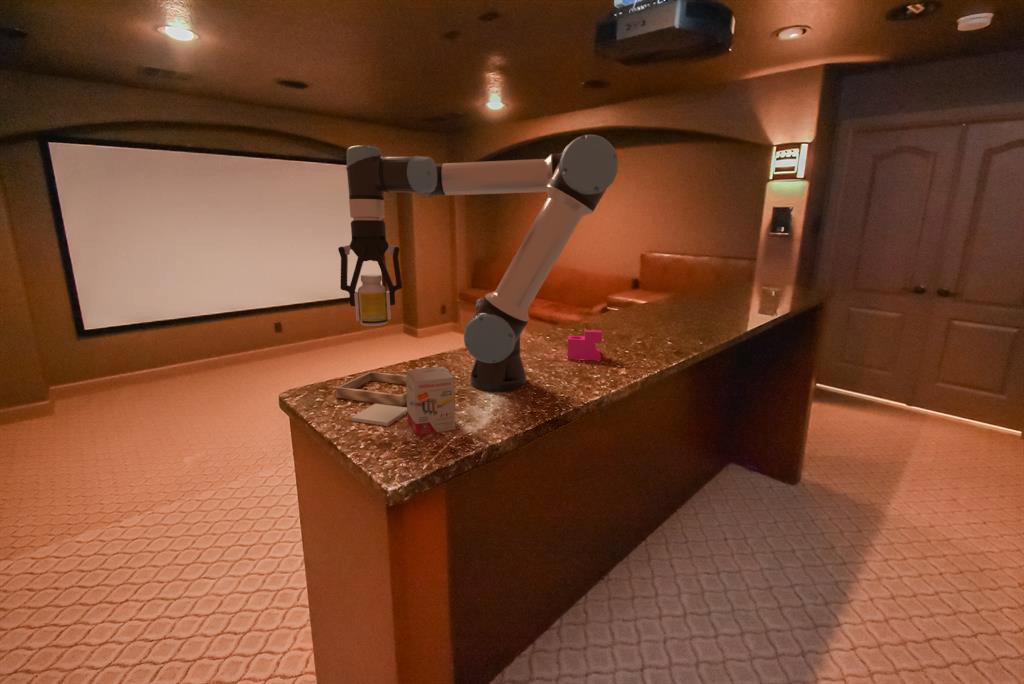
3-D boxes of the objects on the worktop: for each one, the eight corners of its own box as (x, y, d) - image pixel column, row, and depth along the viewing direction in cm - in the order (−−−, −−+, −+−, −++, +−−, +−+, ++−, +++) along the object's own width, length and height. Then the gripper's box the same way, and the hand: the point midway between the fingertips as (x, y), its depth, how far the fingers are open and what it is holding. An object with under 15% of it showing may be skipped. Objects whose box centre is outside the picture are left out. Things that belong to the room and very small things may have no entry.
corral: (431, 387, 125) (430, 378, 125) (402, 406, 112) (401, 396, 111) (370, 380, 131) (369, 371, 130) (335, 397, 117) (335, 387, 117)
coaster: (409, 411, 109) (409, 407, 109) (387, 426, 100) (387, 422, 100) (375, 406, 112) (375, 403, 111) (351, 420, 103) (351, 417, 103)
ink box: (415, 436, 96) (413, 380, 93) (407, 421, 103) (404, 368, 101) (456, 429, 99) (455, 375, 96) (445, 415, 107) (444, 364, 104)
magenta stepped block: (600, 364, 148) (601, 332, 146) (567, 363, 150) (568, 331, 147) (598, 354, 160) (600, 324, 157) (568, 353, 161) (569, 323, 159)
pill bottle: (389, 326, 112) (386, 276, 109) (360, 327, 110) (356, 277, 107) (387, 321, 118) (384, 273, 115) (359, 322, 116) (356, 274, 113)
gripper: (411, 220, 114) (415, 315, 119) (325, 219, 110) (333, 317, 115) (411, 219, 107) (415, 320, 112) (319, 218, 103) (328, 323, 108)
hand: (373, 319), depth 114 cm, fingers closed on pill bottle, 6 cm apart
